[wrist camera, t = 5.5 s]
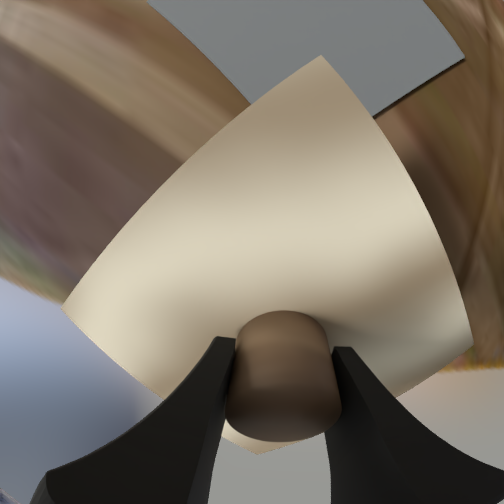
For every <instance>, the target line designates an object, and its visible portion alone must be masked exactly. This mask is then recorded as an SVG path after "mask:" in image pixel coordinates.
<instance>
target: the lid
mask: <svg viewBox="0 0 504 504" xmlns="http://www.w3.org/2000/svg"><path fill="white" fill-rule="evenodd" d="M61 310H62V311H63V312H64V313H65V314H66V315H67V316H68V317H69V318H70V319H71V320H72V321H73V322H74V323H75V325H76V326H77V327H78V328H80V330H82V332H84V333H85V334H86V335H87V336H88V337H89V338H90V339H91V340H92V341H93V342H94V343H95V344H96V345H97V346H98V347H99V348H101V349H102V350H103V351H104V352H105V353H106V354H107V355H108V356H109V357H110V358H112V359H113V360H114V361H115V362H116V363H117V364H118V365H120V366H121V367H122V368H123V369H124V370H126V371H127V372H128V373H129V374H131V375H132V376H133V377H134V378H136V379H137V380H138V381H139V382H141V383H142V384H143V385H145V386H146V387H147V388H149V389H150V390H151V391H153V392H154V393H155V394H157V395H158V396H159V397H161V398H162V399H164V400H165V399H166V398H167V397H168V396H169V395H170V394H171V393H172V392H173V391H174V390H175V388H176V387H177V386H178V385H179V384H180V383H181V382H182V381H183V380H184V379H185V378H186V376H187V375H188V374H189V373H190V371H191V370H192V369H193V368H194V366H195V365H196V364H197V363H198V361H199V360H200V359H201V357H202V356H203V354H204V353H205V352H206V350H207V349H208V347H209V345H210V344H211V342H212V340H213V338H215V337H216V336H221V337H229V338H236V344H235V354H234V360H233V366H232V372H231V377H230V382H229V388H228V394H227V400H226V406H225V418H226V420H225V424H224V427H223V431H222V435H221V436H222V437H224V438H226V439H228V440H230V441H232V442H233V443H235V444H237V445H239V446H241V447H243V448H245V449H247V450H249V451H251V452H253V453H255V454H261V453H265V452H268V451H272V450H275V449H278V448H281V447H285V446H288V445H291V444H294V443H297V442H299V441H302V440H305V439H308V438H311V437H313V436H315V435H318V434H321V433H323V432H324V431H326V430H327V429H329V428H330V427H331V426H333V425H334V424H335V422H336V421H337V420H338V419H339V417H340V415H341V411H342V405H341V400H340V395H339V390H338V385H337V380H336V376H335V371H334V366H333V362H332V357H331V354H332V351H333V348H334V346H344V347H352V348H353V349H354V350H355V352H356V353H357V354H358V355H359V356H360V358H361V359H362V360H363V361H364V363H365V364H366V365H367V366H368V367H369V369H370V370H371V371H372V372H373V373H374V375H375V376H376V377H377V378H378V379H379V380H380V382H381V383H382V384H383V385H384V386H385V387H386V388H387V390H388V391H389V392H390V393H391V394H392V395H393V396H394V397H395V398H396V397H398V396H400V395H401V394H403V393H405V392H407V391H408V390H410V389H411V388H413V387H415V386H416V385H418V384H419V383H421V382H423V381H424V380H426V379H427V378H429V377H430V376H432V375H433V374H435V373H436V372H438V371H439V370H441V369H442V368H443V367H445V366H446V365H448V364H449V363H450V362H452V361H453V360H454V359H456V358H457V357H458V356H460V355H461V354H462V353H463V352H465V351H466V350H467V349H469V348H470V347H471V346H472V345H473V344H474V342H473V337H472V333H471V329H470V325H469V321H468V317H467V314H466V310H465V307H464V303H463V300H462V297H461V294H460V290H459V287H458V284H457V281H456V278H455V276H454V273H453V270H452V267H451V265H450V262H449V259H448V257H447V254H446V252H445V249H444V247H443V244H442V242H441V240H440V237H439V235H438V233H437V230H436V228H435V226H434V224H433V221H432V219H431V217H430V215H429V213H428V211H427V209H426V207H425V205H424V203H423V201H422V199H421V197H420V195H419V193H418V191H417V189H416V187H415V185H414V184H413V182H412V180H411V178H410V176H409V175H408V173H407V171H406V169H405V168H404V166H403V164H402V163H401V161H400V159H399V158H398V156H397V154H396V153H395V151H394V149H393V148H392V146H391V145H390V143H389V142H388V140H387V138H386V137H385V135H384V134H383V132H382V131H381V129H380V128H379V127H378V125H377V124H376V122H375V121H374V119H373V118H372V117H371V115H370V114H369V112H368V111H367V110H366V108H365V107H364V106H363V104H362V103H361V102H360V100H359V99H358V98H357V96H356V95H355V94H354V93H353V91H352V90H351V89H350V88H349V86H348V85H347V84H346V83H345V81H344V80H343V79H342V78H341V77H340V75H339V74H338V73H337V72H336V71H335V70H334V69H333V67H332V66H331V65H330V64H329V63H328V62H327V61H326V60H325V58H324V57H323V56H322V55H320V56H318V57H317V58H315V59H314V60H312V61H311V62H309V63H308V64H306V65H305V66H303V67H302V68H300V69H299V70H297V71H296V72H295V73H293V74H292V75H290V76H289V77H288V78H286V79H285V80H283V81H282V82H281V83H279V84H278V85H276V86H275V87H274V88H272V89H271V90H270V91H268V92H267V93H266V94H265V95H263V96H262V97H261V98H259V99H258V100H257V101H255V102H254V103H253V104H252V105H250V106H249V107H248V108H247V109H245V110H244V111H243V112H242V113H241V114H239V115H238V116H237V117H236V118H234V119H233V120H232V121H231V122H230V123H229V124H227V125H226V126H225V127H224V128H223V129H221V130H220V131H219V132H218V133H217V134H216V135H215V136H213V137H212V138H211V139H210V140H209V141H208V142H207V143H206V144H205V145H203V146H202V147H201V148H200V149H199V150H198V151H197V152H196V153H195V154H194V155H193V156H192V157H190V158H189V159H188V160H187V161H186V162H185V163H184V164H183V165H182V166H181V167H180V168H179V169H178V170H177V171H176V172H175V173H174V174H173V175H172V176H171V177H170V178H169V179H168V180H167V181H166V182H165V183H164V184H163V185H162V186H161V187H160V188H159V189H158V190H157V191H156V192H155V193H154V194H153V195H152V196H151V197H150V198H149V200H148V201H147V202H146V203H145V204H144V205H143V206H142V207H141V208H140V209H139V210H138V211H137V213H136V214H135V215H134V216H133V217H132V218H131V219H130V220H129V221H128V223H127V224H126V225H125V226H124V227H123V228H122V229H121V231H120V232H119V233H118V234H117V235H116V237H115V238H114V239H113V240H112V241H111V242H110V244H109V245H108V246H107V247H106V249H105V250H104V251H103V252H102V253H101V255H100V256H99V257H98V258H97V260H96V261H95V262H94V264H93V265H92V266H91V267H90V269H89V270H88V271H87V273H86V274H85V275H84V277H83V278H82V279H81V281H80V282H79V283H78V285H77V286H76V287H75V289H74V290H73V291H72V293H71V294H70V296H69V297H68V298H67V300H66V301H65V303H64V304H63V306H62V307H61Z"/></svg>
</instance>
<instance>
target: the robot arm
mask: <svg viewBox="0 0 504 504" xmlns="http://www.w3.org/2000/svg"><path fill="white" fill-rule="evenodd" d="M235 344H236V338H229V337H221V336H216V337H215V338H213V340H212V342H211V344H210V345H209V347H208V349H207V350H206V352H205V353H204V354H203V356H202V357H201V359H200V360H199V361H198V363H197V364H196V365H195V366H194V368H193V369H192V370H191V371H190V373H189V374H188V375H187V376H186V378H185V379H184V380H183V381H182V382H181V383H180V384H179V385H178V386H177V387H176V388H175V390H174V391H173V392H172V393H171V394H170V395H169V396H168V397H167V398H166V399H165V400H164V401H163V402H162V403H161V404H160V405H159V406H157V407H156V408H155V409H154V410H153V411H152V412H151V413H149V414H148V415H147V416H146V417H145V418H144V419H143V420H141V421H140V422H138V423H137V424H136V425H134V426H133V427H132V428H130V429H129V430H128V431H126V432H125V433H124V434H122V435H120V436H119V437H117V438H116V439H114V440H113V441H111V442H109V443H108V444H106V445H104V446H102V447H100V448H99V449H97V450H95V451H93V452H92V453H90V454H88V455H86V456H84V457H82V458H80V459H77V460H75V461H72V462H70V463H68V464H65V465H63V466H60V467H58V468H55V469H52V470H49V471H47V473H46V474H45V476H44V477H43V478H42V480H41V481H40V483H39V485H38V487H37V489H36V491H35V493H34V495H33V497H32V500H31V502H30V504H208V498H209V491H210V484H211V477H212V471H213V466H214V462H215V457H216V454H217V450H218V446H219V442H220V439H221V435H222V431H223V427H224V424H225V420H226V418H225V406H226V400H227V394H228V388H229V382H230V377H231V372H232V366H233V360H234V354H235ZM331 357H332V362H333V366H334V371H335V376H336V380H337V385H338V390H339V395H340V400H341V405H342V411H341V415H340V417H339V419H338V420H337V421H336V422H335V424H334V425H333V426H331V427H330V428H329V429H327V430H326V431H324V433H325V439H326V444H327V451H328V457H329V463H330V472H331V504H497V503H499V502H500V501H502V500H503V499H504V471H503V470H501V469H498V468H496V467H493V466H490V465H488V464H485V463H483V462H480V461H478V460H476V459H474V458H472V457H470V456H469V455H467V454H465V453H463V452H461V451H460V450H458V449H456V448H455V447H453V446H451V445H450V444H448V443H447V442H446V441H444V440H443V439H441V438H440V437H438V436H437V435H436V434H434V433H433V432H432V431H430V430H429V429H428V428H427V427H425V426H424V425H423V424H422V423H421V422H420V421H418V420H417V419H416V418H415V417H414V416H413V415H412V414H411V413H410V412H408V410H407V409H405V407H404V406H403V405H402V404H401V403H400V402H399V401H398V400H397V399H396V398H395V397H394V396H393V395H392V394H391V393H390V392H389V391H388V390H387V388H386V387H385V386H384V385H383V384H382V383H381V382H380V380H379V379H378V378H377V377H376V376H375V375H374V373H373V372H372V371H371V370H370V369H369V367H368V366H367V365H366V364H365V363H364V361H363V360H362V359H361V358H360V356H359V355H358V354H357V353H356V352H355V350H354V349H353V348H352V347H344V346H334V348H333V351H332V354H331ZM0 504H21V503H19V502H18V501H17V500H15V499H14V498H13V497H11V496H10V495H9V494H8V493H6V492H5V491H4V490H2V489H1V488H0Z"/></svg>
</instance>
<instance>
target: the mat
mask: <svg viewBox="0 0 504 504" xmlns="http://www.w3.org/2000/svg"><path fill="white" fill-rule="evenodd" d="M147 3H148V4H149V5H150V6H152V7H153V8H154V9H155V10H156V11H158V12H159V13H160V14H161V15H162V16H163V17H165V18H166V19H167V20H168V21H169V22H170V23H171V24H172V25H174V26H175V27H176V28H177V29H178V30H179V31H180V32H181V33H182V34H183V35H185V36H186V37H187V38H188V39H189V40H190V41H191V42H192V43H193V44H194V45H195V46H196V47H197V48H198V49H199V50H200V51H201V52H202V53H203V54H204V55H205V56H206V57H207V58H208V59H209V60H210V61H211V62H212V63H213V64H214V65H215V66H216V67H217V68H218V69H219V70H220V71H221V72H222V73H223V74H224V75H225V76H226V77H227V78H228V79H229V81H230V82H231V83H232V84H233V85H234V86H235V87H236V88H237V89H238V90H239V91H240V92H241V94H242V95H243V96H244V97H245V98H246V99H247V100H248V101H249V103H250V104H251V105H252V104H253V103H254V102H255V101H257V100H258V99H259V98H261V97H262V96H263V95H265V94H266V93H267V92H268V91H270V90H271V89H272V88H274V87H275V86H276V85H278V84H279V83H281V82H282V81H283V80H285V79H286V78H288V77H289V76H290V75H292V74H293V73H295V72H296V71H297V70H299V69H300V68H302V67H303V66H305V65H306V64H308V63H309V62H311V61H312V60H314V59H315V58H317V57H318V56H320V55H322V56H323V57H324V58H325V60H326V61H327V62H328V63H329V64H330V65H331V66H332V67H333V69H334V70H335V71H336V72H337V73H338V74H339V75H340V77H341V78H342V79H343V80H344V81H345V83H346V84H347V85H348V86H349V88H350V89H351V90H352V91H353V93H354V94H355V95H356V96H357V98H358V99H359V100H360V102H361V103H362V104H363V106H364V107H365V108H366V110H367V111H368V112H369V114H370V115H371V117H372V116H374V115H375V114H377V113H378V112H379V111H381V110H382V109H384V108H385V107H387V106H388V105H390V104H391V103H393V102H394V101H396V100H398V99H399V98H401V97H402V96H404V95H405V94H407V93H408V92H410V91H411V90H413V89H414V88H416V87H418V86H419V85H421V84H422V83H424V82H425V81H427V80H429V79H430V78H432V77H433V76H435V75H437V74H438V73H440V72H441V71H443V70H445V69H446V68H448V67H450V66H451V65H453V64H455V63H456V62H458V61H460V60H461V59H463V58H465V56H464V55H463V53H462V52H461V50H460V49H459V47H458V46H457V44H456V43H455V41H454V40H453V38H452V37H451V36H450V34H449V33H448V31H447V30H446V29H445V27H444V26H443V25H442V23H441V22H440V21H439V20H438V18H437V17H436V16H435V15H434V13H433V12H432V11H431V10H430V9H429V7H428V6H427V5H426V4H425V3H424V2H423V0H148V1H147Z"/></svg>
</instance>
